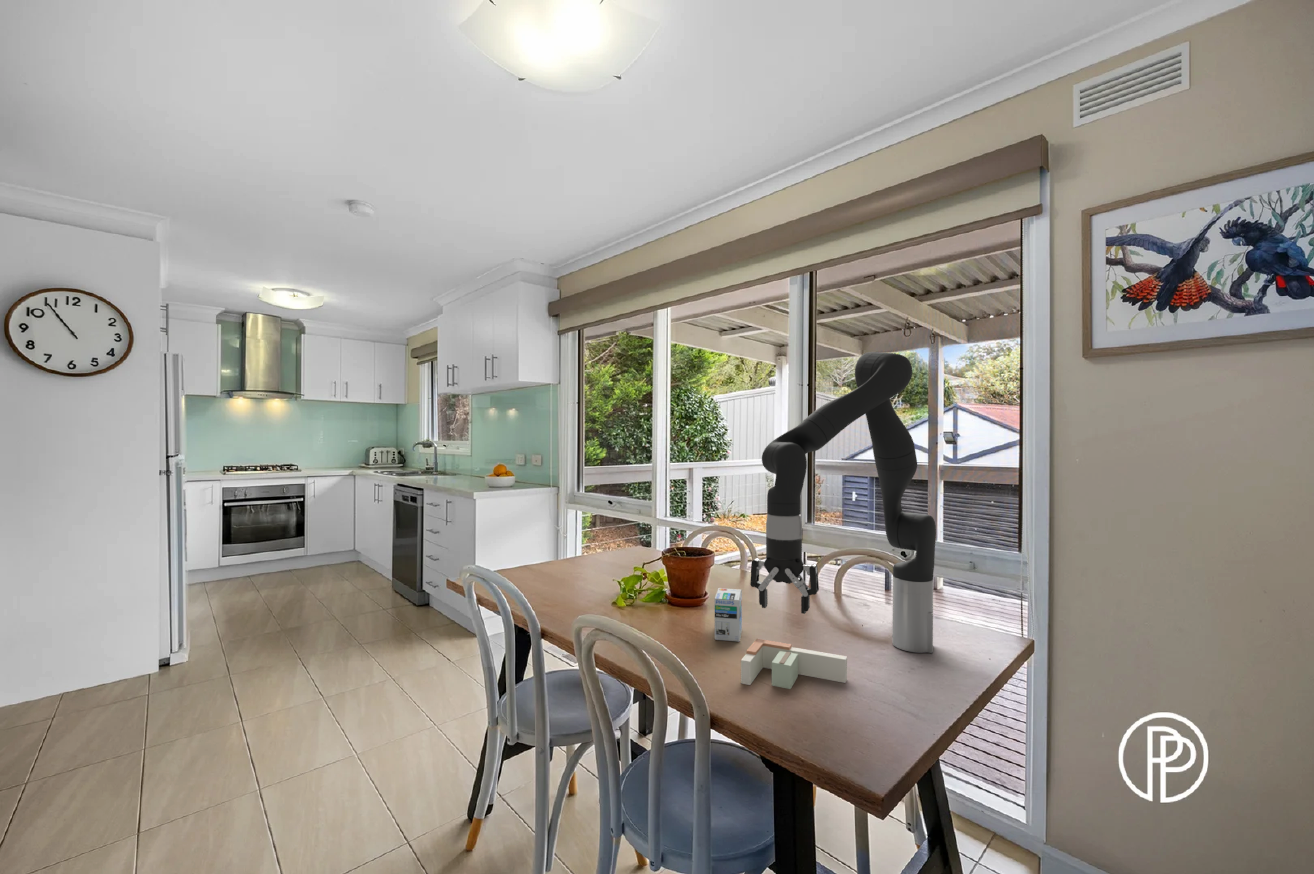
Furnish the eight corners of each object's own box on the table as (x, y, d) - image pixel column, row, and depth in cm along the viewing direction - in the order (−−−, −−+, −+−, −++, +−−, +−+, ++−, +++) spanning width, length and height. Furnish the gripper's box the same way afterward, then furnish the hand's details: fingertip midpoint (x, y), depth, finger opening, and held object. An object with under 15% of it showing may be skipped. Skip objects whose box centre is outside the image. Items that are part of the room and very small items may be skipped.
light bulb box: (740, 642, 145) (740, 600, 145) (713, 640, 146) (713, 598, 146) (742, 628, 156) (742, 588, 155) (717, 626, 157) (717, 587, 157)
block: (790, 689, 119) (790, 664, 119) (771, 685, 121) (771, 661, 121) (797, 676, 125) (798, 653, 125) (779, 673, 127) (779, 650, 127)
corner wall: (847, 679, 124) (847, 653, 123) (838, 703, 113) (838, 674, 113) (756, 662, 132) (756, 638, 132) (740, 683, 122) (740, 656, 121)
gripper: (746, 535, 123) (746, 610, 123) (814, 541, 116) (814, 620, 117) (756, 529, 129) (756, 600, 130) (821, 534, 123) (821, 609, 123)
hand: (784, 609), depth 123 cm, fingers open, 8 cm apart
